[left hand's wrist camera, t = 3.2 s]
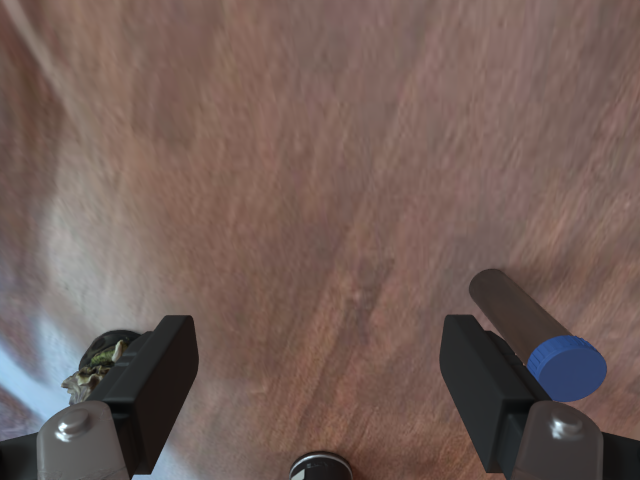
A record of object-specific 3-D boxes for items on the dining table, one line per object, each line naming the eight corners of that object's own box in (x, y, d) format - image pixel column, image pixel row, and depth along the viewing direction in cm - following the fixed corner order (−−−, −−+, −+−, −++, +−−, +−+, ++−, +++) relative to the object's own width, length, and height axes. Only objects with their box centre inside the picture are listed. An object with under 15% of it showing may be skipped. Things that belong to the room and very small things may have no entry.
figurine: (112, 411, 50) (31, 529, 36) (60, 353, 47) (-51, 458, 33) (184, 381, 48) (128, 494, 34) (136, 318, 45) (52, 415, 31)
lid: (569, 394, 32) (582, 410, 30) (513, 377, 31) (524, 392, 30) (606, 345, 30) (622, 358, 29) (548, 326, 30) (561, 339, 28)
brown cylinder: (496, 309, 45) (577, 401, 31) (461, 297, 44) (527, 386, 30) (516, 276, 43) (611, 357, 29) (480, 263, 43) (559, 340, 29)
